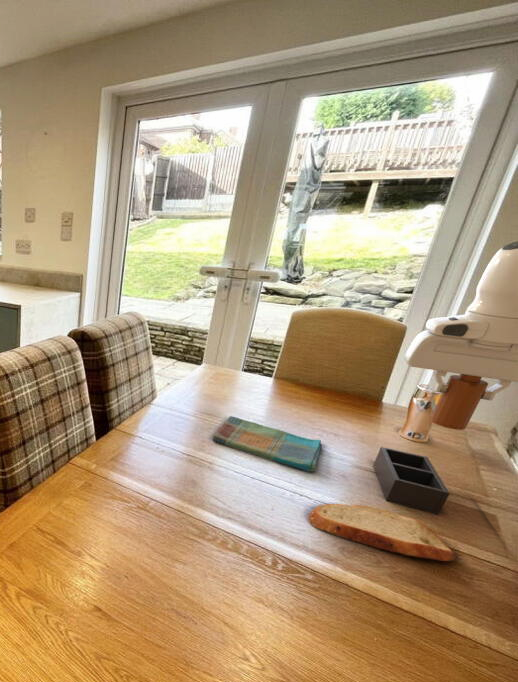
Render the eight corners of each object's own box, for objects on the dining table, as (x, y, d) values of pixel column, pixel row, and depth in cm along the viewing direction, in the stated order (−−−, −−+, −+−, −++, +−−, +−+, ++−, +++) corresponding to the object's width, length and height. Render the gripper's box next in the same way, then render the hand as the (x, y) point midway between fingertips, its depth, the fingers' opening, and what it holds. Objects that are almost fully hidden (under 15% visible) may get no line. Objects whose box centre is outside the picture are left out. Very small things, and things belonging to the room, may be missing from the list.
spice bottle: (460, 422, 83) (489, 364, 78) (469, 432, 79) (500, 372, 74) (427, 415, 86) (453, 359, 81) (434, 425, 82) (461, 366, 77)
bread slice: (298, 517, 82) (304, 502, 80) (354, 497, 88) (360, 483, 86) (404, 587, 66) (412, 570, 65) (463, 557, 72) (472, 541, 71)
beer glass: (390, 432, 115) (410, 385, 109) (406, 429, 117) (426, 382, 111) (419, 444, 109) (442, 395, 103) (435, 441, 110) (459, 392, 105)
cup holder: (418, 476, 95) (427, 456, 93) (438, 515, 83) (449, 493, 80) (372, 465, 99) (380, 446, 97) (385, 500, 87) (395, 479, 85)
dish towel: (313, 476, 95) (317, 467, 94) (211, 442, 109) (213, 434, 108) (321, 447, 107) (324, 439, 106) (228, 420, 121) (230, 413, 120)
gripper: (568, 333, 72) (529, 401, 77) (417, 318, 82) (392, 379, 88) (589, 342, 67) (546, 413, 73) (426, 324, 78) (399, 388, 83)
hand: (461, 395), depth 80 cm, fingers closed on spice bottle, 5 cm apart
